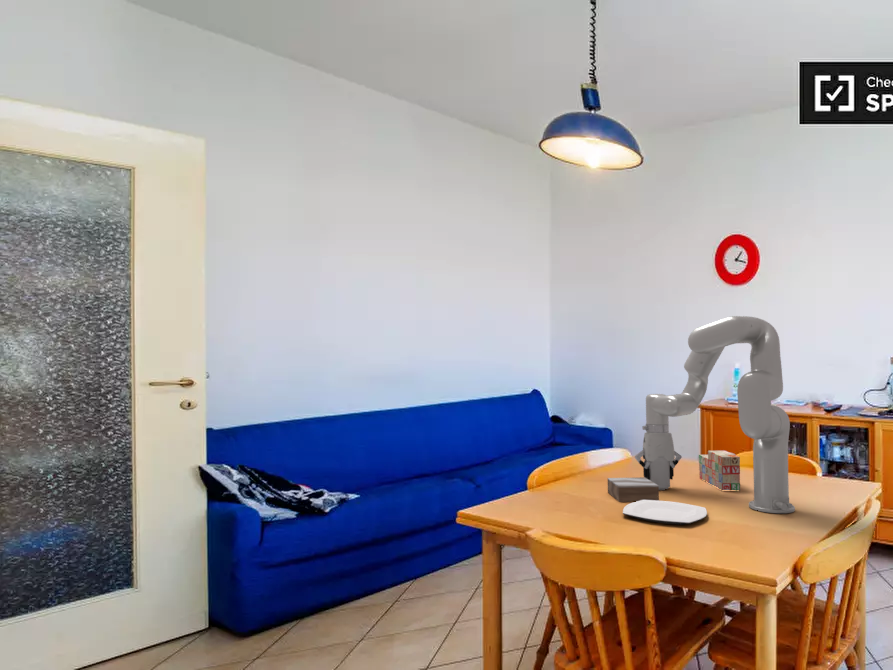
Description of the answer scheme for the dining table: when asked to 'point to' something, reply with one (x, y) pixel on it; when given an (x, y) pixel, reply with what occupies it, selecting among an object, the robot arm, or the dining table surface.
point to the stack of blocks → (720, 469)
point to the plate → (665, 511)
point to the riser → (633, 489)
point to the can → (660, 472)
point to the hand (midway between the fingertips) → (658, 478)
